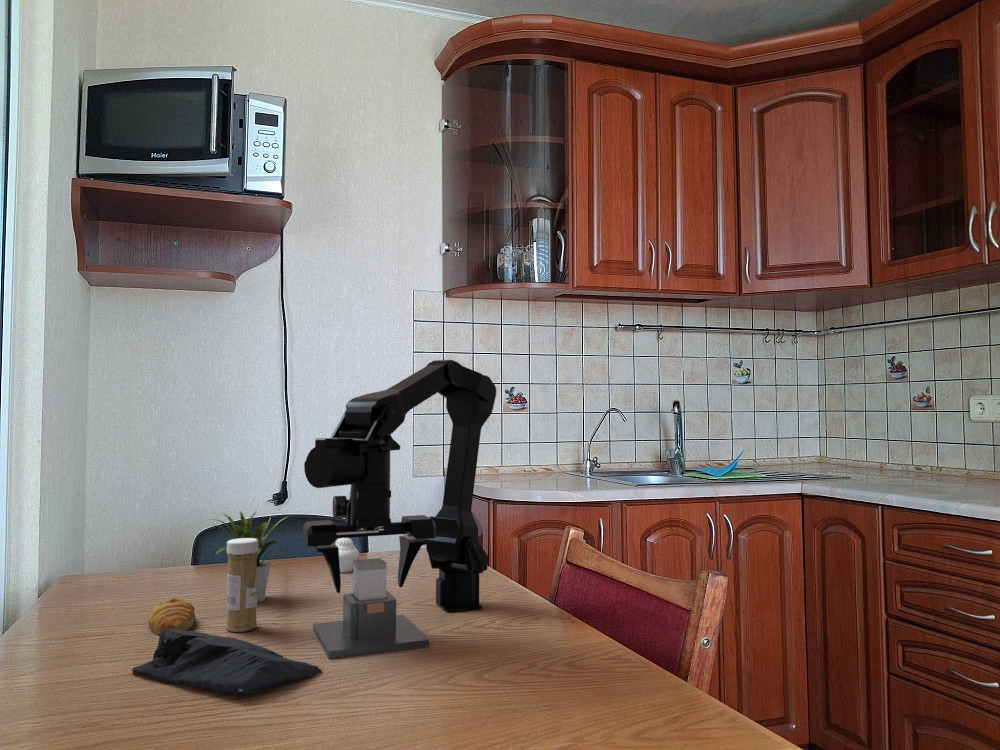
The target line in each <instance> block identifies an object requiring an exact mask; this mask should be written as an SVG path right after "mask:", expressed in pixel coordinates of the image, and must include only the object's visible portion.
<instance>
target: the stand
mask: <svg viewBox="0 0 1000 750" xmlns="http://www.w3.org/2000/svg"><path fill="white" fill-rule="evenodd" d="M342 606H343V607H342V608H343V609H342V620H337V621H335V620H334V621H327V622H317V623H316V622H315V623H313V624H312V630H313V633H314V635H315V637H316V638H317V640H318V642H319V644H320V645H321V648H322V650H323V651H324V654H325V655H326V657H327V658H328V659H329V660H332V659H339V658H347V657H356V656H363V655H365V656H366V655H373V654H382V653H389V652H398V651H407V650H414V649H422V648H423V649H424V648H429V647H430V639H429V638H428V637H427V636H426V635H425V634H424V632H422V631H421V630H420V629H419V628H418V627H417V625H415V624H414V623H413V622H412V621H411V620H410V619H409V618H408V617H407V616H406V615H405V614H397V598H396V597H395V596H393V594H391V593H390V592H389V591H388V590H386V599H384V600H373V601H363V602H357V601H356V600H355V599H354V598H353V592H349V593H346V594H345V593H343V594H342Z"/></svg>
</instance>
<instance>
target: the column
mask: <svg viewBox="0 0 1000 750" xmlns="http://www.w3.org/2000/svg"><path fill="white" fill-rule="evenodd" d="M352 571H353V572H352V573H353V576H352V582H353V583H352V585H353V586H352V593H353V598H354V599H355V600H356V601H357V602H363V601H373V600H384V599H386V591H387V562H386V561H384V560H383V559H382V558H380V557H377V558H364V559H357V560H353V569H352Z"/></svg>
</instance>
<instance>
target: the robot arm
mask: <svg viewBox="0 0 1000 750" xmlns="http://www.w3.org/2000/svg"><path fill="white" fill-rule="evenodd" d="M435 394H439V395H441V396H442V397H444V398H445V400H446V403H445V404H446V405H445V407H446V411H447V413H448V416H449V418H450V420H451V422H452V427H451V436H450V445H449V451H448V459H447V460H448V461H447V466H446V474H445V483H444V490H443V498H442V504H441V508H440V509H439V511H438V512H437V514H436V516H433V515H432V516H429V517H428V516H426V515H424V514H422V515H421V514H418V515H417V514H416V515H403V516H401V519H400V521H394V522H393V521H392V518H391V498H392V490H391V451H399V450H401V445H400V444H399V443H398V442H397V441H396V440H395V439H394V438H393V436H392V434H393V433H394V432H396V430H398V428H399V427H400V426H401V425H402V424H403V423H404V422H405V420H406V417H407V416H406V415H407V414H408V413H409V412H410V411H411V410H412V409H414V408H415V407H418V406H419V405H420V404H421V403H423V402H425V401H427V400H428V399H429V398H432V397H433V396H434V395H435ZM496 397H497V387H496V384H495V383H494V382H493V381H492V378H491V377H489V376H488V375H486V374H483V373H481V372H480V371H479V372H478V371H476V370H473V369H471V368H468V367H466V366H464V365H462V364H460V363H459V362H458V361H456V360H453V359H436V360H435V359H434V360H432V361H430V362H428V363H427V365H426V366H424V367H422V368H421V369H419V370H417V371H416V372H414V373H412V374H411V375H409V376H408V377H406V378H404V379H402V380H400V381H399V382H397V383H396V384H394V385H391V387H389V388H388V389H387V388H386V389H384V390H381V391H380V390H379V391H376V392H370V393H366V394H362V395H359V396H355V397H353V398H351V399H350V400H348V401H347V403H346V404H345V410H344V412H343V415H342V416H341V418H340V420H339V422H338V423H337V425H336V427H335V429H334V430H333V432H332V433H331V436H330V438H329V437H328V438H327V437H326V438H325V437H316V438H315V439H314V441H315V442H314V444H315V445H314V447H313V448H312V449H310V450H309V452H308V454H307V456H306V460H305V461H304V462H303V463H304V465H303V469H304V474H305V477H306V480H307V481H308V483H309V484H310V485H311V486H312V487H314V488H316V489H325V488H332V487H341V486H342V487H343V486H349V485H350V492H349V498H347V495H334V496H333V497H332V518H333V519H344V522H345V524H342V525H341V524H339V525H336V524H335V522H333V521H332V519H331V520H330V519H325V520H323V519H322V520H309V521H308V520H307V521H306V522H305V523H304V524H303V527H302V541H303V542H304V544H305V545H306V546H307V547H313V549H314V550H315V551H316V552H317V553H321V554H322V555H323V557H324V559H325V561H326V564H327V567H328V570H329V573H330V576H331V579H332V583H333V586H334V589H335V592H336V593H337V594H339V593H341V585H342V583H341V579H342V578H341V573H340V564H339V549H338V547H337V546H336V545H335V542H336V541H337V540H338V539H340V538H350V539H352V538H365V537H377V536H378V537H380V536H381V537H382V536H395V535H399V536H398V538H399V560H398V570H397V586H398V587H399V588H403V587H404V584H405V582H406V579H407V577H408V575H409V571H410V569H411V567H412V564H413V563H414V560H415V559H416V557H417V555H418V553H419V551H420V549H421V547H422V546H425V545H426V546H425V547H426V549H425V550H426V552H427V553H428V559H429V562H430V566H431V569H432V570H433V569H434V570H435V569H437V570H438V577H437V578H436V579H435V604H437V606H439V607H440V608H441V609H442V610H444V611H445V612H448V613H450V612H459V611H468V610H477V609H483V608H484V605H483V604H482V603H481V602H480V574H484V572H485V571H487V570H488V565H489V560H490V556H489V555H488V554H487V552H486V551H485V550H484V548H483V547H482V546H481V544H480V543H479V527H478V524H477V522H476V519H475V517H474V515H473V512H472V507H473V498H474V491H475V490H474V489H475V482H476V473H477V467H478V466H477V464H478V457H479V450H480V449H479V447H480V440H481V432H482V428H483V426H484V425H485V423H486V422H487V421H488V419H489V418H490V416H491V415H492V414H493V411H494V406H495V401H496ZM358 529H360V530H358Z"/></svg>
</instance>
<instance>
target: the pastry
mask: <svg viewBox="0 0 1000 750" xmlns="http://www.w3.org/2000/svg"><path fill="white" fill-rule="evenodd" d="M195 621H196V613H195V607H194V605H193V604H192V603H190V602H188V601H185V600H184V599H182V598H169V599H166V600H165V601H161V602H159V603H157V605H155V606H154V607H153V609H152V611H151V612H150V613H149V615H148V619H147V624H148V628H149V629H150V630H151V631H152V632H153V633H154V634H156V635H157V636H158V635H160V634H161V632H162V631H164V630H168V629H172V630H180V631H189V630H190V629H191V628H192V627H194V622H195Z"/></svg>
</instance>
